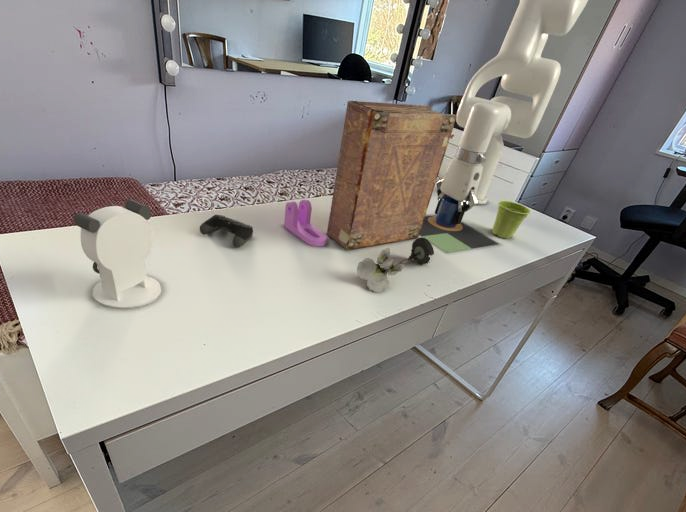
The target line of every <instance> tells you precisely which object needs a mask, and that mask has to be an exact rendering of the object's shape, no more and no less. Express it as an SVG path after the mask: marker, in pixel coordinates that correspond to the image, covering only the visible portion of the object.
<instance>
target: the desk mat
mask: <svg viewBox="0 0 686 512" xmlns="http://www.w3.org/2000/svg"><path fill="white" fill-rule="evenodd" d="M435 217H436V214H435V215H434V214H433V215H425V218H424V221H423V224H422V227H421V230H420V234H419V236H420V237H421V238H425V239H427V240H428V241H429V242H430V243H431V245H434V246H435V247H437V248H438V249H440V250H441V251H443V252H444V253H453V252H460V251H465V250H472V249H478V248H485V247H490V246H496V245H499V242H498V241H497V242H496V241H495V240H493V239H492V238H490V237H488V236H487V235H485V234H483V233H481V232H479V231H478V230H476V229H474V228H473V227H471V226H469V225H467V224H466V223H464V222H462V221H461V223H460V224H457V226H456V227H454V228H448V227H443V226H441V225H438V224H437V223H436V222H435Z"/></svg>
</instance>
